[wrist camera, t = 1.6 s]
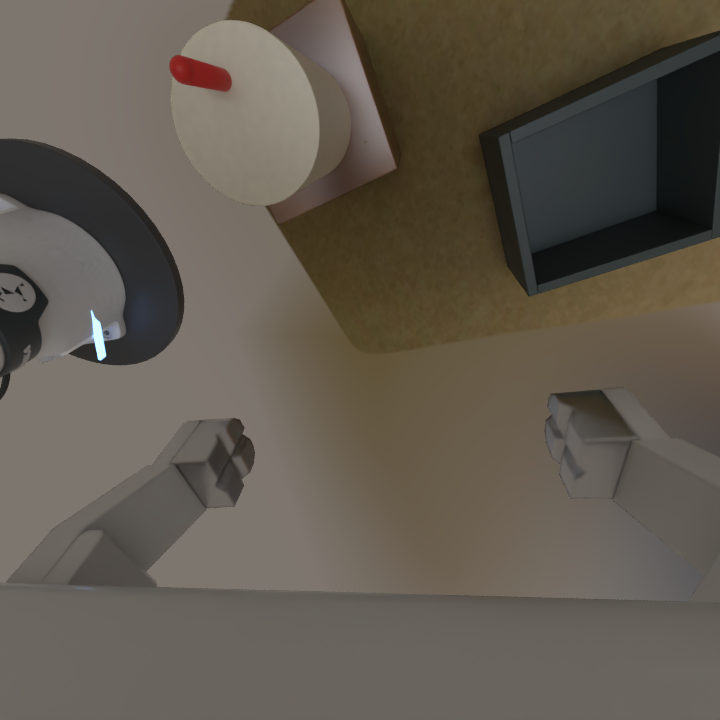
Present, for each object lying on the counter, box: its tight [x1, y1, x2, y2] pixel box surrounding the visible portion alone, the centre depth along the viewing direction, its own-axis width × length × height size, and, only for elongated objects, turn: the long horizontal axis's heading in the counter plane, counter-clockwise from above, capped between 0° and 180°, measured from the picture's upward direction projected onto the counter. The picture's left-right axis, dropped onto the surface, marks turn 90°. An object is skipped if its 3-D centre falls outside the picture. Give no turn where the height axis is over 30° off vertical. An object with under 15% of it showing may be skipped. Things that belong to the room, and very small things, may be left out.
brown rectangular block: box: [268, 0, 401, 225], centre depth 26 cm, size 9×9×12 cm
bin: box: [479, 31, 720, 296], centre depth 28 cm, size 14×13×8 cm
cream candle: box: [170, 20, 351, 206], centre depth 16 cm, size 6×6×12 cm
